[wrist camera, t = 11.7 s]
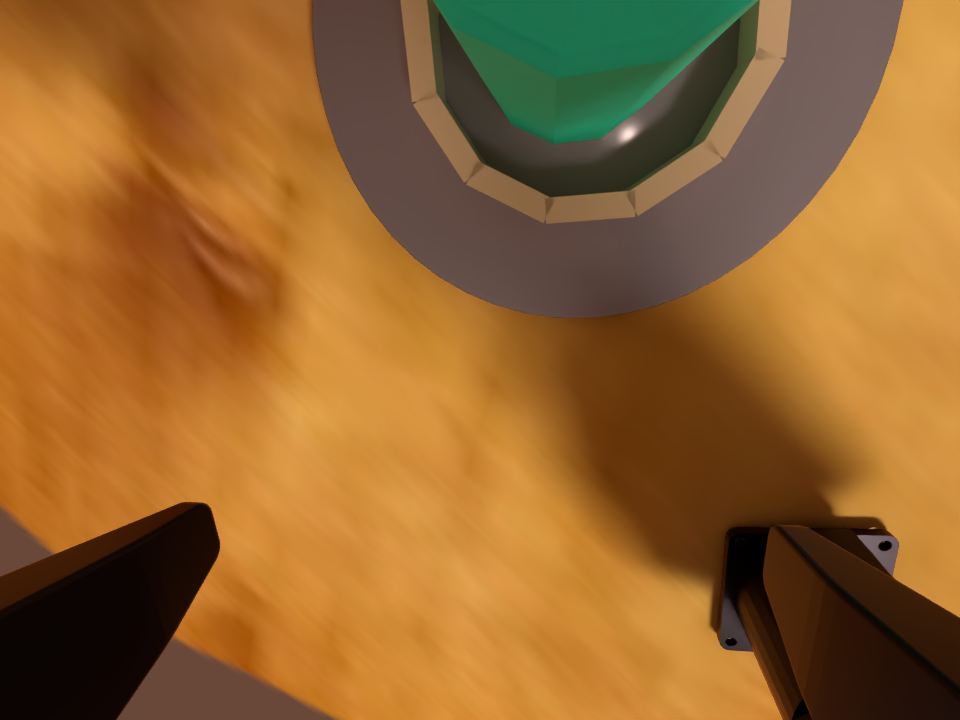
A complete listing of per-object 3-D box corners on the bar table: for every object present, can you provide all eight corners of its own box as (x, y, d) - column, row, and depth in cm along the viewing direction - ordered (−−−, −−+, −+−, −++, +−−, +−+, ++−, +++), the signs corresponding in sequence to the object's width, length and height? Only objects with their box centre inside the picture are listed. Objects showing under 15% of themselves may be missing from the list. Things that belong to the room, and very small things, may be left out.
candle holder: (839, 299, 18) (882, 315, 16) (367, 322, 21) (344, 339, 18) (944, -413, 12) (1036, -554, 10) (276, -249, 15) (226, -329, 13)
